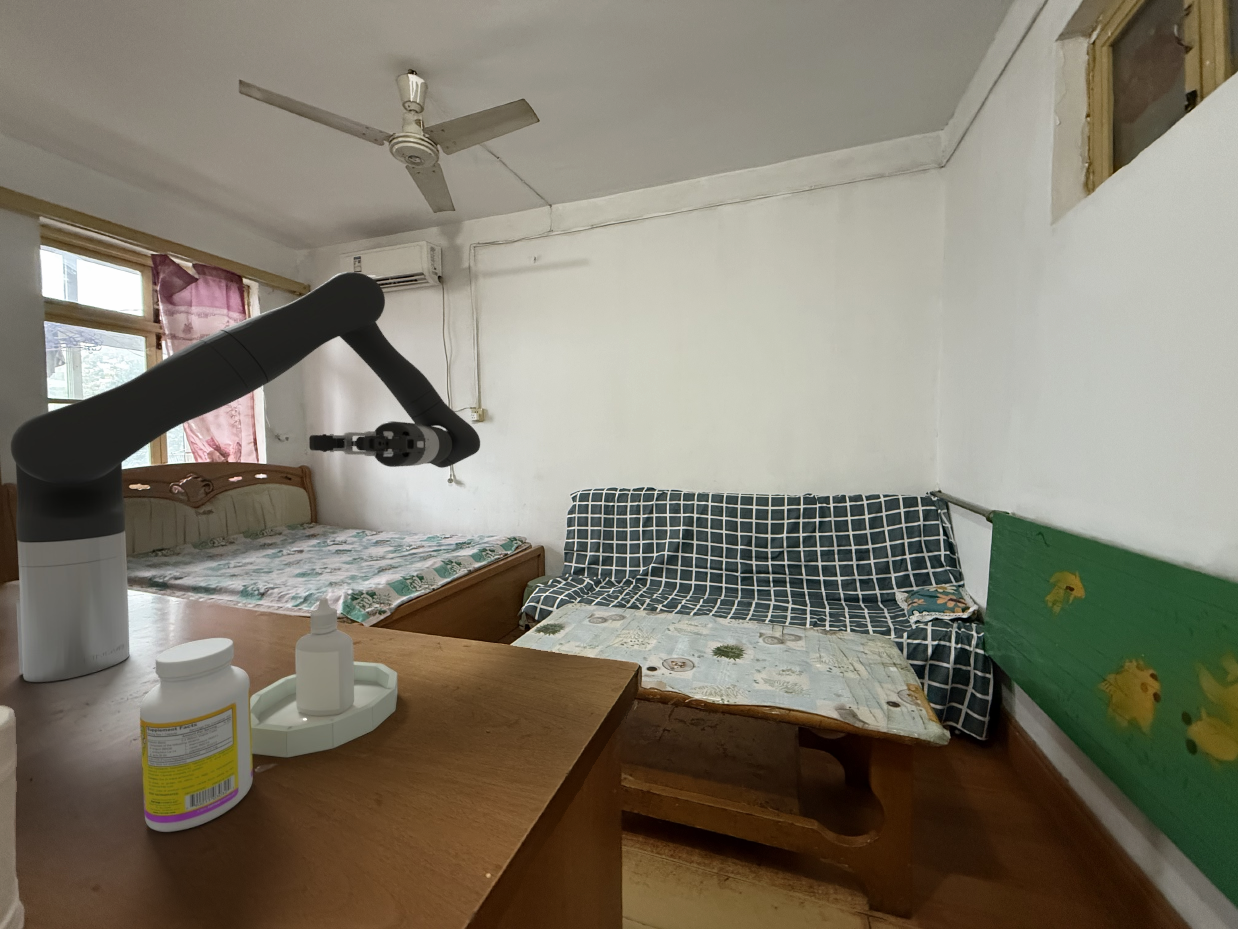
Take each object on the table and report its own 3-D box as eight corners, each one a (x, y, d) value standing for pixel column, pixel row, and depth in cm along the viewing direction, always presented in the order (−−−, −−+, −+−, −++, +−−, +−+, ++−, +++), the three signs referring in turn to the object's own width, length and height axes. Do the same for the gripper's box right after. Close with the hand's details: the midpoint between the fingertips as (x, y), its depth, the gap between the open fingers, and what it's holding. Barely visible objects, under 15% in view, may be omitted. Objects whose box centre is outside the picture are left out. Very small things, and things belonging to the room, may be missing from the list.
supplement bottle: (191, 777, 42) (186, 633, 41) (271, 773, 42) (267, 631, 42) (117, 840, 35) (111, 669, 35) (213, 834, 36) (208, 666, 35)
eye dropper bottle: (314, 726, 49) (312, 610, 48) (292, 708, 52) (289, 599, 51) (359, 707, 52) (357, 598, 52) (335, 691, 55) (333, 589, 55)
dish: (205, 748, 46) (204, 722, 46) (317, 678, 60) (316, 658, 60) (336, 763, 44) (336, 736, 44) (421, 687, 58) (420, 666, 58)
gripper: (369, 422, 84) (293, 416, 68) (445, 422, 82) (385, 416, 66) (369, 465, 84) (293, 468, 68) (445, 466, 82) (385, 470, 66)
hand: (338, 443), depth 67 cm, fingers open, 8 cm apart
